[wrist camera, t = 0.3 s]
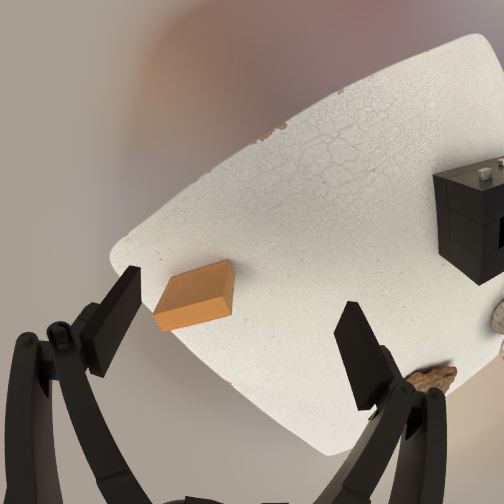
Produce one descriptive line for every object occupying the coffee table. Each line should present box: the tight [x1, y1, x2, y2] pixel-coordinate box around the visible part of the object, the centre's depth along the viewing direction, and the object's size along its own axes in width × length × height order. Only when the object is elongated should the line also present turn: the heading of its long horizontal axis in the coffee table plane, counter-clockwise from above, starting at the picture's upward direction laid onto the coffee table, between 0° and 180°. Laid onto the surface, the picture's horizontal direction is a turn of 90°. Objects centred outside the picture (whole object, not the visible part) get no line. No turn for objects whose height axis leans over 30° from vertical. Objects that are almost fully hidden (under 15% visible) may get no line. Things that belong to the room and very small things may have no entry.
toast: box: [153, 260, 235, 332], centre depth 31 cm, size 2×8×8 cm, turn 108°
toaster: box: [433, 156, 504, 286], centre depth 27 cm, size 13×18×10 cm
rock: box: [406, 366, 457, 394], centre depth 44 cm, size 13×11×5 cm
